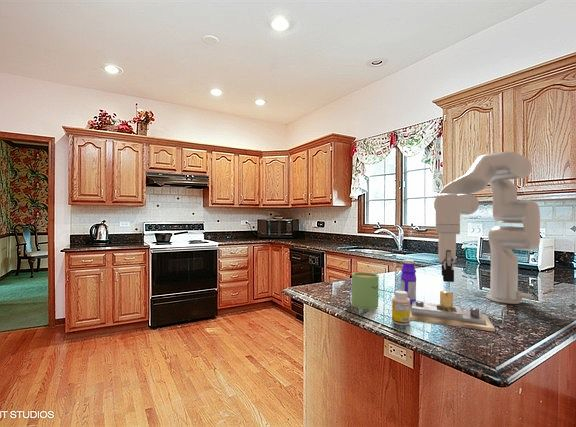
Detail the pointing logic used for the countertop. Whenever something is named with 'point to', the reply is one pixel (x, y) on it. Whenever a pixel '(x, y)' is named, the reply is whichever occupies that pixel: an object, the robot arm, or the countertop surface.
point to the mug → (365, 290)
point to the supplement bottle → (401, 308)
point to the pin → (446, 301)
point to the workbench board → (454, 322)
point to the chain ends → (447, 313)
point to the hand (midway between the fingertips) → (447, 278)
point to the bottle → (409, 279)
